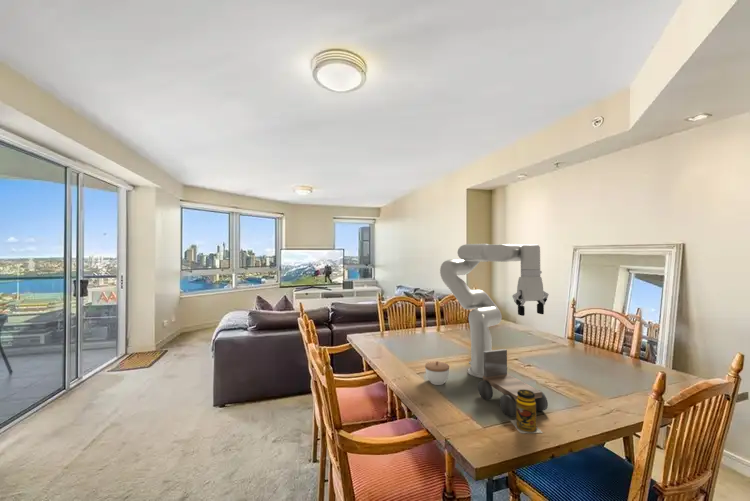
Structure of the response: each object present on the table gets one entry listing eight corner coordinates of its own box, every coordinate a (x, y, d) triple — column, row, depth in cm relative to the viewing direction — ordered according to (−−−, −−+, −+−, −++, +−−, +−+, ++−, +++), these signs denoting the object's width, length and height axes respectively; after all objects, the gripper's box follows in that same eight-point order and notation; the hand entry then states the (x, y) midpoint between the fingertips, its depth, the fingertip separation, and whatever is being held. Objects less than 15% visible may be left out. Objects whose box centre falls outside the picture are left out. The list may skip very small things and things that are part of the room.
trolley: (478, 395, 136) (477, 351, 136) (509, 390, 140) (508, 348, 140) (512, 420, 116) (512, 368, 116) (547, 414, 120) (547, 364, 120)
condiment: (520, 433, 108) (520, 396, 108) (509, 420, 116) (509, 386, 116) (542, 433, 108) (542, 396, 108) (530, 420, 116) (530, 385, 116)
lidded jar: (431, 388, 144) (431, 366, 144) (421, 379, 154) (421, 359, 154) (453, 385, 147) (453, 364, 147) (442, 376, 157) (442, 356, 157)
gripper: (540, 272, 146) (541, 311, 146) (507, 273, 141) (507, 314, 141) (554, 273, 138) (554, 314, 138) (519, 274, 134) (519, 317, 134)
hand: (530, 314), depth 140 cm, fingers open, 9 cm apart
